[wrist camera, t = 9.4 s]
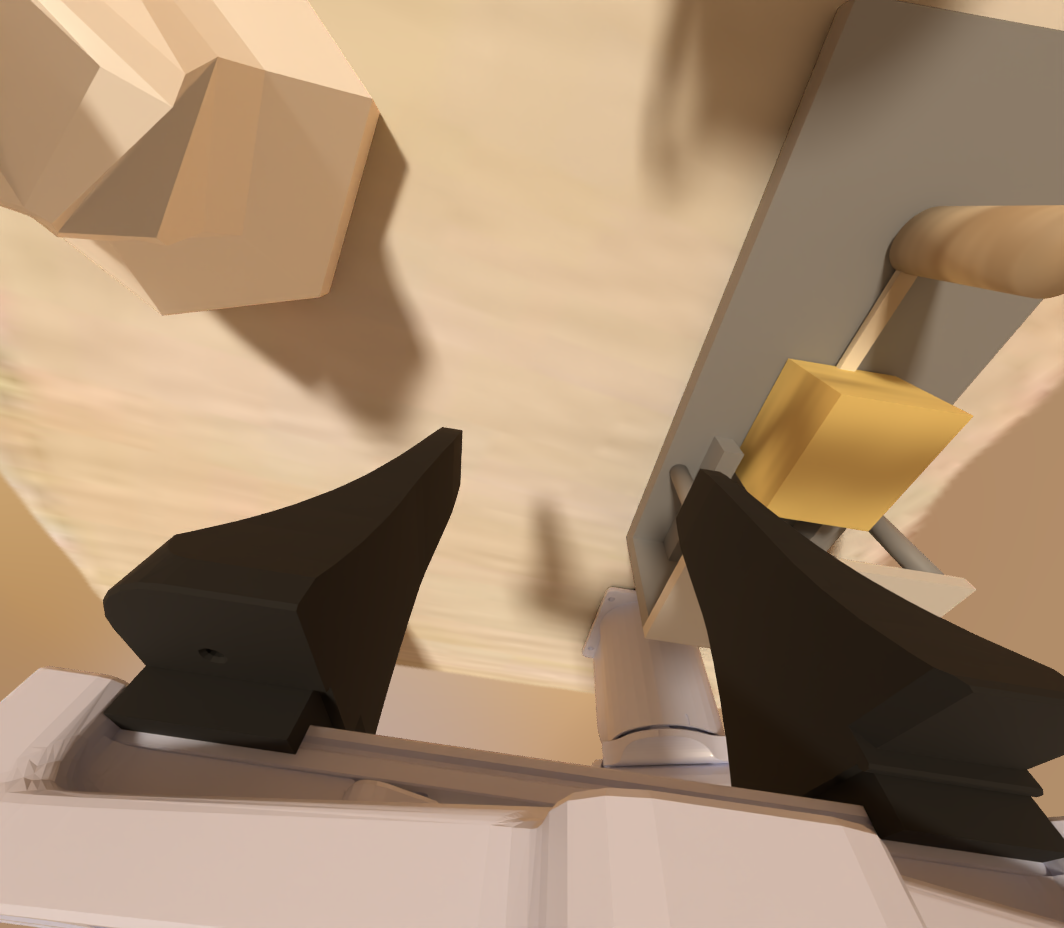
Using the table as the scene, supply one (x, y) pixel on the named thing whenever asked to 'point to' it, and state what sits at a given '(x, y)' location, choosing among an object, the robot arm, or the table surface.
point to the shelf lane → (863, 259)
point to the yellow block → (884, 400)
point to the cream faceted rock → (185, 143)
